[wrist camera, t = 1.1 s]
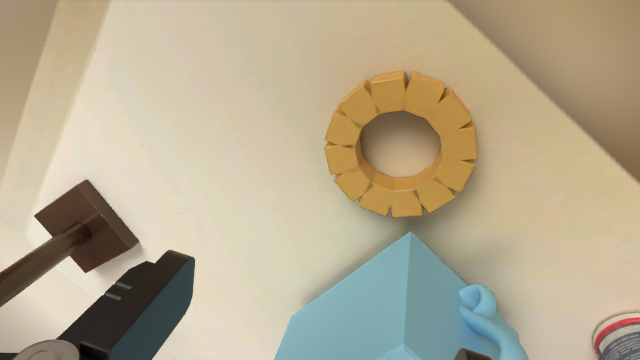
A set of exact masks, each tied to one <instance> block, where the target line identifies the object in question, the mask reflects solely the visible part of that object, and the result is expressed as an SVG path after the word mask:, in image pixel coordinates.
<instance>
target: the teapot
mask: <svg viewBox="0 0 640 360" xmlns="http://www.w3.org/2000/svg"><path fill="white" fill-rule="evenodd" d="M496 311H497V300H496V297H495V296H494V294H493V293H492V291H491V290H489V289H488V288H487V287H485V286H483V285H480V284H472V285H469V286H468V285H467V284H466V283H465V282H464V281H463V280H462V279H461V278H460V277H458V276H457V275H456V274H455V273H454V272H453V271H452V270H451V269H450V268H449V267H448V266H447V265H446V264H445V263H444V262H443V261H442V260H441V259H440V258H439V257H438V256H437V255H436V254H435V253H434V252H433V251H431V250H430V249H429V248H428V247H427V246H426V245H425V244H424V243H423V242H422V241H421V240H420V239H419V238H418V237H417V236H416V235H415V234H414V233H413V232H412V231H410V232H409V233H407V234H406V235H404V236H403V237H402V238H400V239H399V240H397V241H396V242H395V243H393V244H392V245H390V246H389V247H387V248H386V249H385V250H383V251H382V252H380V253H379V254H378V255H376V256H375V257H373V258H372V259H371V260H369V261H368V262H366V263H365V264H364V265H362V266H361V267H359V268H358V269H357V270H355V271H354V272H352V273H351V274H350V275H348V276H347V277H345V278H344V279H343V280H341V281H340V282H338V283H337V284H336V285H334V286H333V287H331V288H330V289H329V290H327V291H326V292H324V293H323V294H322V295H320V296H319V297H317V298H316V299H315V300H313V301H312V302H310V303H309V304H308V305H306V306H305V307H303V308H302V309H301V310H299V311H298V312H297V313H295V314H294V315H292V317H291V320H290V322H289V325H288V327H287V330H286V332H285V334H284V337H283V339H282V342H281V344H280V347H279V349H278V351H277V354H276V356H275V359H274V360H454V358H455V356H456V355H457V353H458V351H459V350H460V349H461V348H465V349H468V350H471V351H474V352H477V353H480V354H483V355H486V356H489V357H490V358H491V359H492V360H528V357H527V354H526V352H525V351H524V349H523V347H522V346H521V344H520V341H519V337H518V334H517V332H516V331H515V330H514V329H513V328H511V327H510V326H509V325H508V324H507V323H506V322H505V321H504V320H503V319H502V318H501V317H500V316H499V315H498V314H497V313H496Z"/></svg>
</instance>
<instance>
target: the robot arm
mask: <svg viewBox="0 0 640 360" xmlns="http://www.w3.org/2000/svg"><path fill="white" fill-rule="evenodd" d="M194 269H195V259H194V257H191V256H188V255H185V254H182V253H179V252H176V251H173V250H168V251H167V252H166V253H165V254H164V255H163V256H162V257H161V258H160V259H159V260H158V261H157V262H156V263H155V264H154V263H151V262H149V261H145V262H143V263H141V264H139V265H137V266H135V267H133V268H131V269H129V270H128V271H127V272H126V273H125V274H124V275H123V276H122V277H121V278H120V279H118V280H117V281H116V283H115V285H112V286H111V287H110V288H109V289H108V290H107V291H106V292H105V294H104V295H102V296H101V297H100V298H99V299H98V300H97V301H96V302H95V303H94V304H93V305H91V307H89V308H88V309H87V310H86V311H85V312H84V313H83V314H82V315H81V316H80V317H79V318H78V319H77V320H76V321H75V322H74V323H73V324H72V325H71V326H70V327H69V328H68V329H67V330H65V332H63V333H62V334H61V335H60V336H59V337H58V338H56V339H55V340H46V341H42V342H38V343H36V344H33V345H31V346H29V347H27V348H25V349H24V350H22V351H21V352H20V353H0V360H152V359H153V357H154V356H155V355H156V353H157V352H158V350H159V349H160V348H161V346H162V345H163V344H164V342H165V341H166V339H167V338H168V337H169V335H170V334H171V333H172V331H173V330H174V328H175V327H176V326H177V324H178V323H179V322H180V320H181V319H182V317H183V316H184V315H185V313H186V311H187V309H188V307H189V305H190V302H191V299H192V295H193V282H194ZM454 360H492V359H491V358H490V357H489V356H486V355H483V354H480V353H477V352H474V351H471V350H468V349H465V348H461V349H460V350H459V351H458V353H457V355H456V356H455V358H454Z"/></svg>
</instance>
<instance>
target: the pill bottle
mask: <svg viewBox="0 0 640 360" xmlns="http://www.w3.org/2000/svg"><path fill="white" fill-rule="evenodd" d="M593 348H594V350H595V353H596V355H597V357H598V359H599V360H640V313H628V314H623V315H619V316H616V317H613V318H611V319H609V320H607V321H605V322H604V323H603V324H601V325H600V326H599V327H598V329H597V330H596V332H595V334H594V336H593Z"/></svg>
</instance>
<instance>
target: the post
mask: <svg viewBox="0 0 640 360" xmlns="http://www.w3.org/2000/svg"><path fill="white" fill-rule="evenodd" d="M34 217H35V218H36V219H37V220H38V221H39V222H40V223H41V224H42V225H43V227H44V228H45V229H46V230H47V231H48V232H49V233H50V234H51V236H52V237H53V238H51V239H50V240H48V241H47V242H45V243H44V244H42V245H41V246H39V247H38V248H36V249H35V250H33V251H32V252H31V253H29V254H27V255H26V256H25V257H23V258H21V259H20V260H18V261H17V262H15V263H14V264H12V265H11V266H9V267H8V268H7V269H5V270H4V271H2V272H0V307H1V306H3V305H4V304H5V303H7V302H8V301H9V300H11V299H12V298H13V297H15V296H16V295H17V294H19V293H20V292H21V291H23V290H24V289H25V288H26V287H28V286H29V285H31V284H32V283H33V282H35V281H36V280H37V279H39V278H40V277H41V276H43V275H44V274H45V273H46V272H48V271H49V270H50V269H52V268H53V267H55V266H56V265H57V264H59V263H60V262H61V261H63V260H64V259H65V258H67V257H68V256H70V257H71V258H72V259H73V260H74V261H75V262H76V263H77V264H78V266H79V267H80V268H81V269H82V270H83V271H84V272H85V273H87V272H89V271H91V270H93V269H94V268H96V267H98V266H100V265H102V264H104V263H106V262H107V261H109V260H111V259H113V258H115V257H117V256H119V255H120V254H122V253H124V252H126V251H128V250H130V249H131V248H132V247H133V246H135V245H136V244H137V243H138V242H139V241H138V240H137V239H136V238H135V236H134V235H133V234H132V233H131V232H130V230H129V229H128V228H127V227H126V226H125V224H124V223H123V222H122V221H121V220H120V218H119V217H118V216H117V215H116V214H115V212H114V211H113V210H112V209H111V208H110V206H109V205H108V204H107V203H106V202H105V200H104V199H103V198H102V197H101V196H100V194H99V193H98V192H97V191H96V190H95V188H94V187H93V186H92V185H91V184H90V182H89V181H88V180H85V181H83V182H81V183H80V184H78V185H76V186H75V187H73V188H72V189H71V190H69V191H68V192H66V193H65V194H64V195H62V196H61V197H59V198H58V199H56V200H55V201H54V202H52V203H51V204H49V205H48V206H47V207H45V208H44V209H42V210H41V211H40V212H38V213H37V214H35V215H34Z"/></svg>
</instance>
